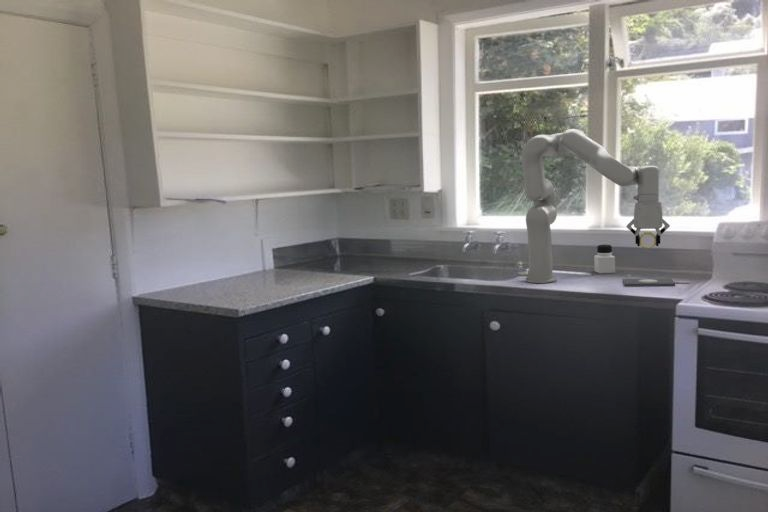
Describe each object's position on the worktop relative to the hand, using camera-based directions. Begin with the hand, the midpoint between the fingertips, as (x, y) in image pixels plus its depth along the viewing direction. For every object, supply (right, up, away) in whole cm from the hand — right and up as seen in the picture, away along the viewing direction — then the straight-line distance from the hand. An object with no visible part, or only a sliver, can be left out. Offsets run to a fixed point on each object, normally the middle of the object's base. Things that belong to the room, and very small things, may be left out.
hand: (647, 245), depth 261 cm
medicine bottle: (-5, -11, +36) cm, 38 cm away
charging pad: (+5, -15, +3) cm, 16 cm away
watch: (0, -1, 0) cm, 1 cm away
